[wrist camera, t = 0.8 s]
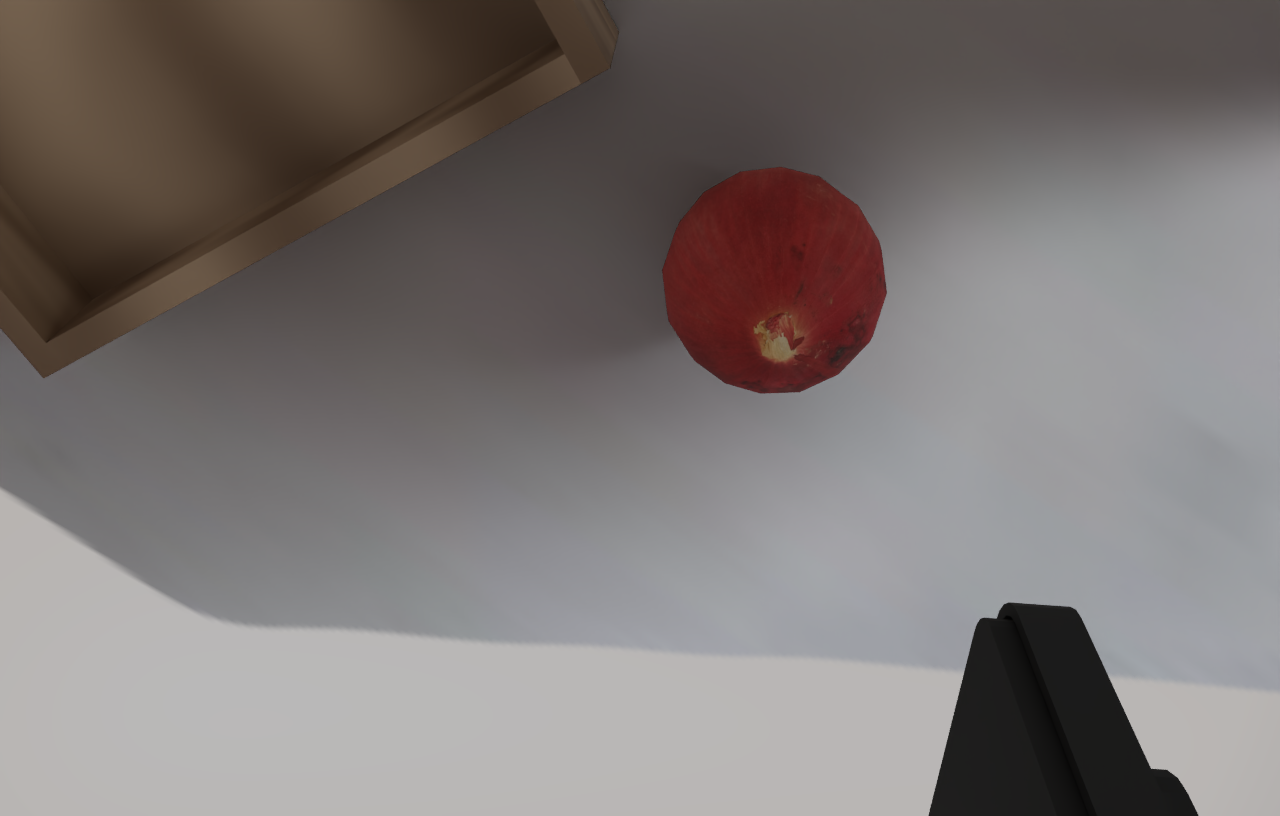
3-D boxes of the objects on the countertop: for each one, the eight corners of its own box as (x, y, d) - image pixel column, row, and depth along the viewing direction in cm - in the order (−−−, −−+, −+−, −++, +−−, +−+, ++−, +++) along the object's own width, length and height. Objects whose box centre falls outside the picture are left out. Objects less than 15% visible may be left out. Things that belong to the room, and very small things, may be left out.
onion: (908, 216, 35) (963, 334, 28) (778, 358, 37) (799, 500, 30) (751, 93, 33) (768, 185, 26) (626, 249, 36) (611, 371, 29)
